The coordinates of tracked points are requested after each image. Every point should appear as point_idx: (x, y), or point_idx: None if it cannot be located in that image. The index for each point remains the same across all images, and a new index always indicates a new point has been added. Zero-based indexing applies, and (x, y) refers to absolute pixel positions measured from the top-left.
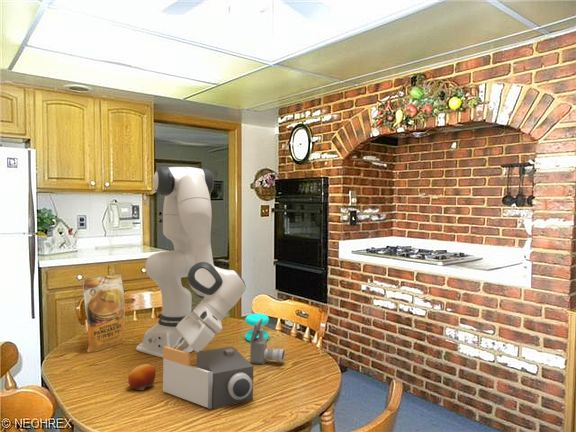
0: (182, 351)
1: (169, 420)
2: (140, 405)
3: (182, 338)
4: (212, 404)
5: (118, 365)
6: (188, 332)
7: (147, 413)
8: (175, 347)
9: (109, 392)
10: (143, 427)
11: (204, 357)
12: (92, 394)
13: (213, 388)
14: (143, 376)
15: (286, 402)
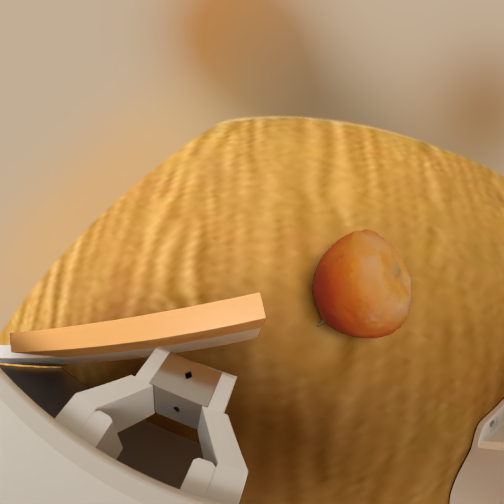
0: (58, 343)
1: (97, 252)
2: (225, 233)
3: (184, 481)
4: (60, 371)
5: (497, 295)
6: (8, 471)
7: (168, 227)
8: (184, 378)
9: (366, 206)
10: (123, 194)
11: None
12: (377, 175)
13: (22, 367)
14: (323, 264)
15: None
